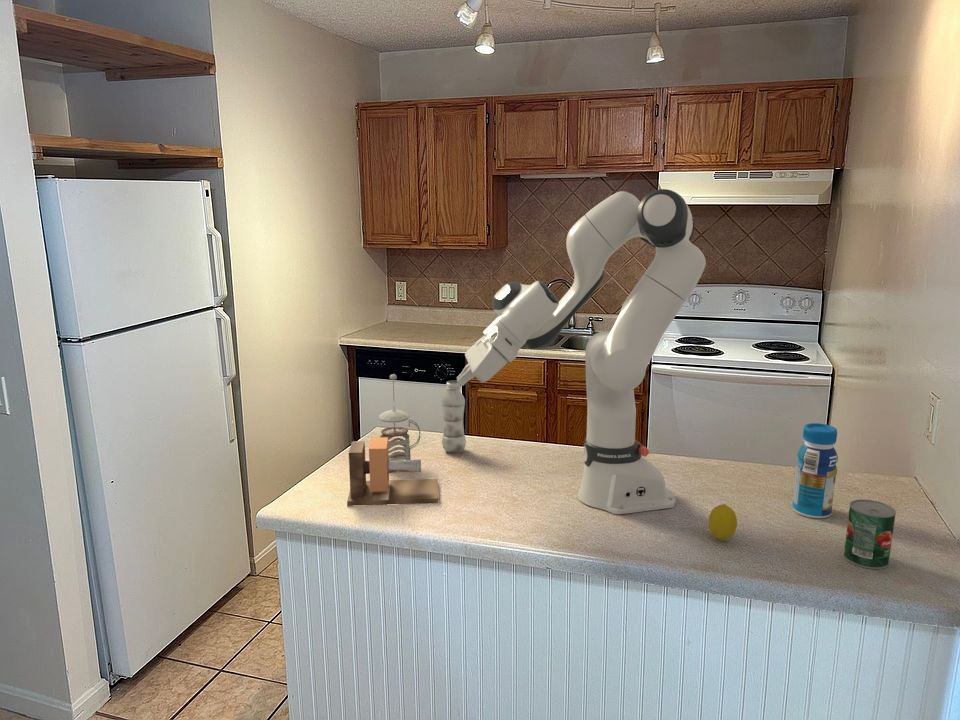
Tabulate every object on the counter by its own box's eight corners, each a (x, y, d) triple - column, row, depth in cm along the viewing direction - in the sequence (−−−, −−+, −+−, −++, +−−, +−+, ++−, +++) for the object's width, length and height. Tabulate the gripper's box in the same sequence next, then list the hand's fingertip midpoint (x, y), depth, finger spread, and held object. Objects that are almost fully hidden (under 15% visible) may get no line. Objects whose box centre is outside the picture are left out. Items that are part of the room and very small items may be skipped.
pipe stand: (437, 483, 177) (437, 436, 175) (438, 503, 166) (437, 453, 163) (352, 485, 176) (350, 438, 173) (347, 506, 164) (345, 455, 162)
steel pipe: (421, 469, 172) (420, 457, 171) (421, 474, 169) (420, 462, 168) (358, 471, 170) (357, 459, 170) (356, 476, 167) (356, 463, 167)
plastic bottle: (463, 456, 196) (462, 385, 192) (439, 454, 198) (438, 384, 193) (468, 448, 203) (467, 380, 198) (445, 446, 204) (444, 378, 200)
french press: (377, 460, 193) (374, 370, 188) (420, 458, 195) (418, 369, 189) (376, 473, 184) (373, 379, 178) (421, 471, 185) (419, 378, 180)
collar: (389, 478, 174) (388, 437, 172) (387, 491, 166) (386, 448, 164) (372, 478, 174) (371, 437, 171) (370, 491, 166) (368, 449, 164)
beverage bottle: (784, 504, 165) (792, 421, 161) (818, 503, 166) (828, 421, 161) (803, 520, 157) (812, 433, 152) (840, 519, 158) (850, 432, 153)
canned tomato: (840, 547, 145) (846, 496, 142) (883, 553, 142) (890, 501, 140) (847, 566, 137) (854, 513, 135) (893, 572, 135) (900, 518, 133)
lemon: (720, 548, 144) (723, 511, 142) (701, 537, 149) (704, 501, 147) (741, 543, 146) (744, 507, 145) (722, 532, 151) (725, 497, 150)
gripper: (486, 322, 173) (446, 363, 175) (497, 339, 154) (452, 384, 155) (504, 340, 175) (464, 380, 176) (517, 359, 155) (472, 403, 156)
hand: (458, 382), depth 165 cm, fingers closed
